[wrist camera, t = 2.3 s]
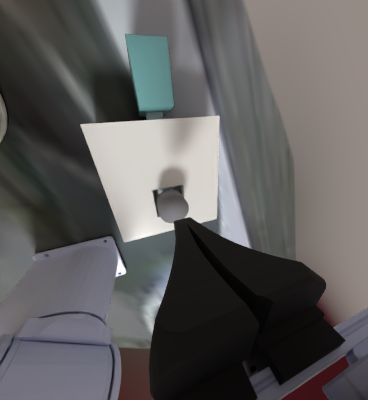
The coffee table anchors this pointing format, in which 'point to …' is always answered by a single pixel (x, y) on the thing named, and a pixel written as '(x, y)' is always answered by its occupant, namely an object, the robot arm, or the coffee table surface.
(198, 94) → the coffee table surface
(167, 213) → the plunger
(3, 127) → the coffee can
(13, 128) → the coffee table surface
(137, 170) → the housing
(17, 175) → the coffee table surface
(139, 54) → the block
